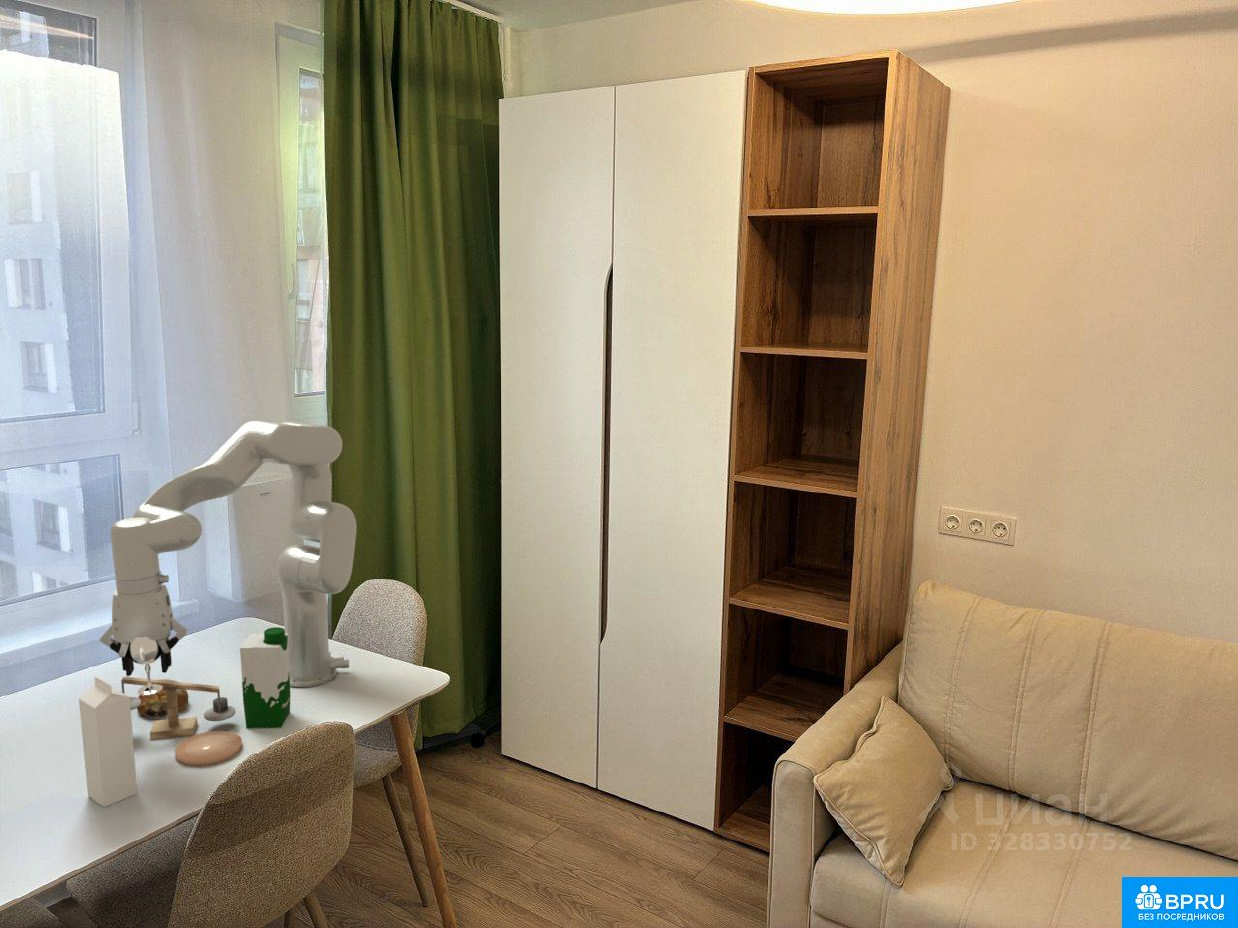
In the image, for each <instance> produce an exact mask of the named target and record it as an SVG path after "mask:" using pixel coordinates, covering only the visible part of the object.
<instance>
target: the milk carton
mask: <svg viewBox="0 0 1238 928" xmlns="http://www.w3.org/2000/svg"><path fill="white" fill-rule="evenodd" d="M239 654H240V670H241V687H242V701H243V702H242V703H243V711H244V719H245V726H246V727H245V728H246V729H282V728H283V726H284V724H285V722H286V720H287V718H288V717H289V715H290V713H291V686H290V673H289V634H285V628H284V627H276V626H274V627H270V628H267V629H265V630H264V633H250V635H249V636H248V637H247V638H246V640H245V641H244V642H243V643H242V644H241V646H240V647H239Z"/></svg>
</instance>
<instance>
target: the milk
mask: <svg viewBox="0 0 1238 928" xmlns="http://www.w3.org/2000/svg"><path fill="white" fill-rule="evenodd" d="M124 693H125V692H124ZM124 693H122V691H120V690H119V689H117V688H115V687H113V686H112V685H111V684H109V683H108V682H106V681H105V680H104V679H101V678H99V677H98V676H95V677H94V684H93V685H92V686H91V687H90V688H89V689H88V690H87V691H86V692H85V693H83V694H82V695H81V696H80V697H78V703H79V714H80V716H79V717H80V725H81V735H82V746H83V755H84V768H85V778H86V787H87V788H86V789H87V796H88V798H90V799H92V800H93V801H94V802H95V803H97V804H98V805H100V806H101V807H102V808H107V807H109V806H111V805H114V804H115V803H118V802H120V801H123V800H125V799H127V798H130V797H133V796H134V795H137V794H138V785H137V783H138V782H137V772H136V769H137V768H136V758H135V745H134V736H133V735H134V734H133V724H132V723H133V721H132V710H131V709H130V697H131V696H129V695H128V694H124Z"/></svg>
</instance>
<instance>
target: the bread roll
mask: <svg viewBox="0 0 1238 928" xmlns="http://www.w3.org/2000/svg"><path fill="white" fill-rule="evenodd" d="M158 680H162V681H172V682H176V680H174V679H167V678H166V679H165V678H163V679H159V678H158ZM137 698H139V699H140V700H141V705H140V706H139V707H138V708H136V709H137V712H138V714H139V715H140V716H141V717H147V718H153V719H157V718H163V717H168V709H167V695H166V691H164V687H163V689H162V690H161V691H159V692H158V693H155V694H151V695H140V694H138V697H137ZM188 703H189V694H188V690H184V689H177V704H178V713H179V712H181V711H182V710H183V709H185V708H186V707H187V705H188Z"/></svg>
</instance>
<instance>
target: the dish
mask: <svg viewBox="0 0 1238 928" xmlns="http://www.w3.org/2000/svg"><path fill="white" fill-rule="evenodd" d="M242 748H243V741H242V737H241V736H240V735H239V734H238V733H235V732H232V731H228V730H211V731H204V732H201V733H197V734H194V735H190V736H189V737H187V738H185V739H183V740H182V741H181V742H179V743H178V744H177V746H176V747H175V750H174V752H175V753H174V755H175V760H176V761H177V762H178V763H179V764H180V765H183V766H186V767H194V768H195V767H200V768H201V767H209V766H215V765H218V764H221V763H224V762H227V761H230V760H231V759H233V758H234V757H235V756H237V755H238V754H239V753H240V752H241V751H242Z"/></svg>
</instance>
